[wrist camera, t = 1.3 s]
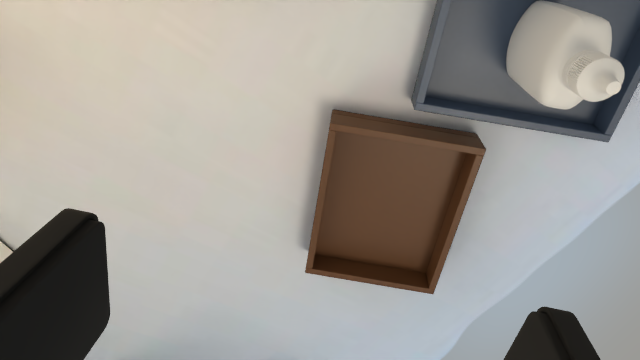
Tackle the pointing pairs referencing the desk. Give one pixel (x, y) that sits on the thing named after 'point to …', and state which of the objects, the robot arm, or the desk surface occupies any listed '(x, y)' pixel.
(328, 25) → the desk surface
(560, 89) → the eye dropper bottle
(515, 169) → the desk surface
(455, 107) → the slate tray
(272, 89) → the desk surface
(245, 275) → the desk surface
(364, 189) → the walnut tray
